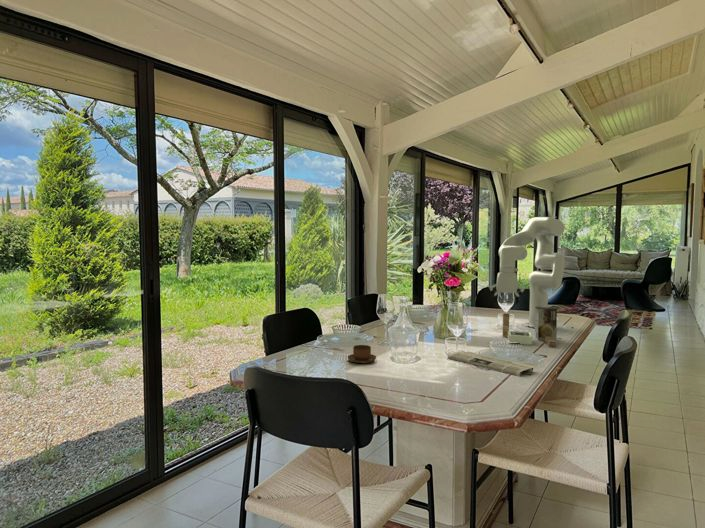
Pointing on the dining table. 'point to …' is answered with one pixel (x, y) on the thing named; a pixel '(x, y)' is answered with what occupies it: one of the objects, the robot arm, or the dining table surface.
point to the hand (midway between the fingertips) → (506, 303)
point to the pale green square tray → (520, 337)
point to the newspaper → (492, 362)
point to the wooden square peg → (505, 324)
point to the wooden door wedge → (550, 341)
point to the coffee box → (545, 322)
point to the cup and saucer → (362, 354)
